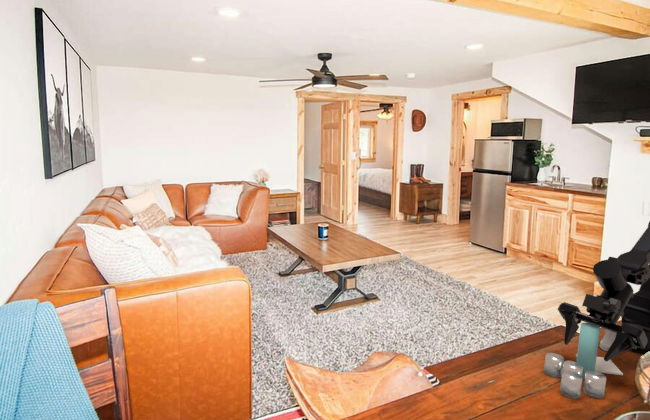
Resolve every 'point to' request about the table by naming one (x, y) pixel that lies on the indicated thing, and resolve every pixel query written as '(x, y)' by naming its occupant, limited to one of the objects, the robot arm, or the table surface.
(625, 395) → the table surface
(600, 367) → the grey mat
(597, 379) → the block
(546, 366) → the spacer
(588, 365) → the teal post
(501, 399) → the table surface
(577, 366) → the spacer
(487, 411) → the table surface
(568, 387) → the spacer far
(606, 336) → the rook chess piece
